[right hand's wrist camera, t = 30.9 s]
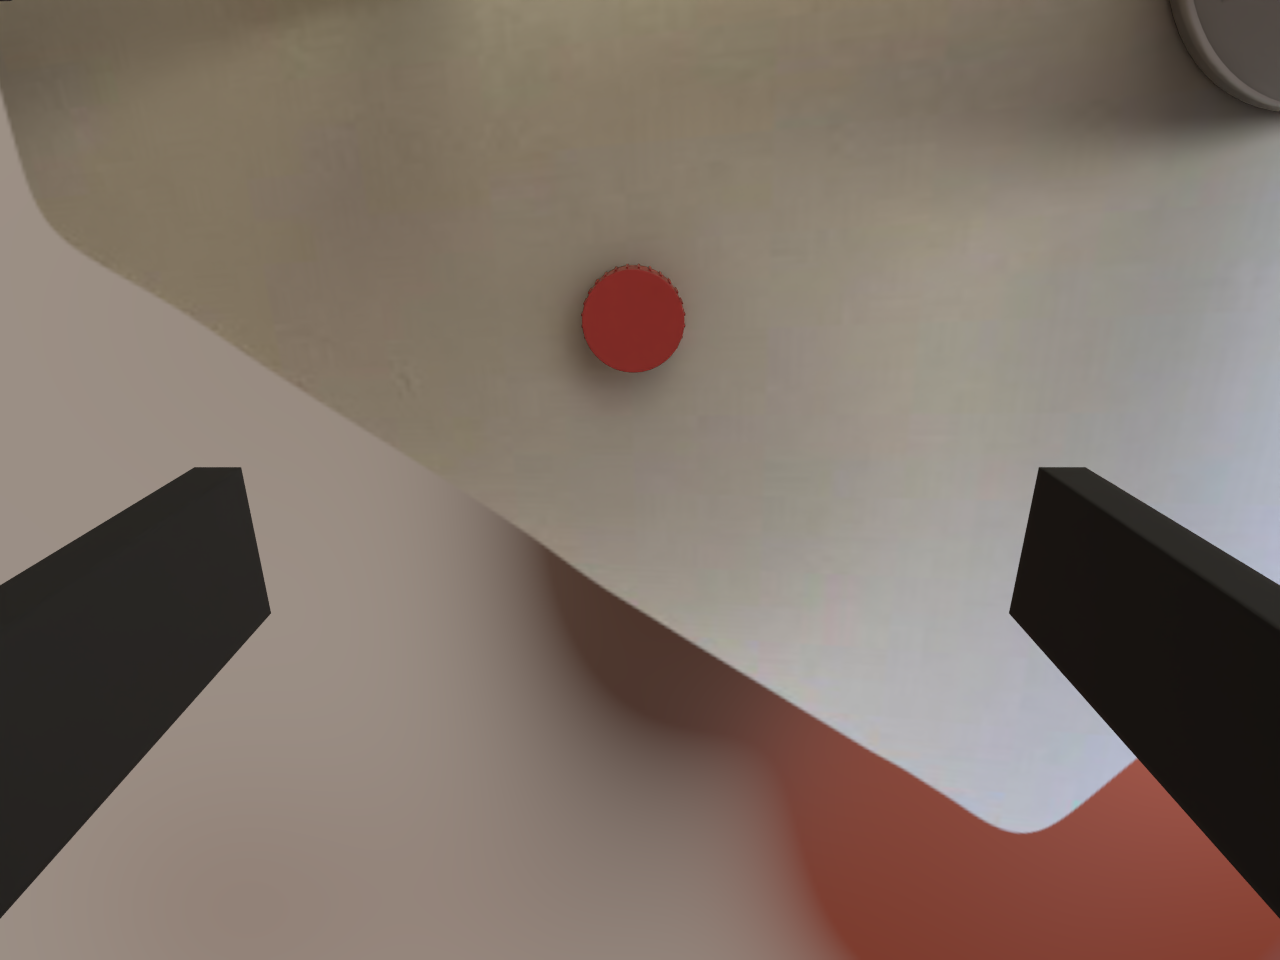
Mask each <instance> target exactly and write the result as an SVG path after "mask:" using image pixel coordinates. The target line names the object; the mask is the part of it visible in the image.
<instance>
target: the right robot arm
mask: <svg viewBox="0 0 1280 960" xmlns="http://www.w3.org/2000/svg"><path fill="white" fill-rule="evenodd" d="M1170 5H1171V9H1172V13H1173V17H1174V20H1175V23H1176V26H1177V29H1178V32H1179V34H1180V36H1181V38H1182V41H1183V43H1184V45H1185V47H1186V49H1187V50H1188V52H1189V54H1190V55H1191V57H1192V58H1193V60H1194V62H1195V63H1196V64H1197V65H1198V67H1199V68H1200V69H1201V70H1202V71H1203V73H1204V74H1205V75H1206V76H1207V77H1208V78H1209V79H1210V80H1211V81H1212V82H1213V83H1215V84H1216V85H1217V86H1218V87H1220V88H1221V89H1222V90H1224V91H1225V92H1226V93H1228V94H1229V95H1231V96H1233V97H1235V98H1237V99H1239V100H1241V101H1242V102H1245V103H1248V104H1250V105H1253V106H1256V107H1259V108H1263V109H1267V110H1271V111H1278V112H1280V0H1170ZM270 614H271V611H270V606H269V601H268V597H267V592H266V587H265V582H264V577H263V572H262V567H261V562H260V558H259V553H258V548H257V543H256V538H255V533H254V528H253V523H252V518H251V514H250V509H249V504H248V499H247V494H246V489H245V485H244V479H243V475H242V470H241V468H240V467H195V468H193V469H191V470H189V471H188V472H186V473H185V474H183V475H181V476H180V477H178V478H176V479H175V480H173V481H171V482H170V483H168V484H166V485H165V486H163V487H161V488H160V489H158V490H157V491H155V492H153V493H152V494H150V495H148V496H147V497H145V498H143V499H142V500H140V501H138V502H137V503H135V504H133V505H132V506H130V507H129V508H127V509H125V510H124V511H122V512H120V513H119V514H117V515H115V516H114V517H112V518H110V519H109V520H107V521H105V522H104V523H102V524H101V525H99V526H97V527H96V528H94V529H92V530H91V531H89V532H87V533H86V534H84V535H82V536H81V537H79V538H78V539H76V540H74V541H73V542H71V543H69V544H68V545H66V546H64V547H63V548H61V549H59V550H58V551H56V552H54V553H53V554H51V555H49V556H48V557H46V558H45V559H43V560H41V561H40V562H38V563H36V564H35V565H33V566H31V567H30V568H28V569H26V570H25V571H23V572H21V573H20V574H18V575H17V576H15V577H13V578H12V579H10V580H8V581H7V582H5V583H3V584H2V585H0V918H1V917H2V916H3V915H4V914H5V913H6V911H7V910H8V909H9V908H10V907H11V906H12V905H13V904H14V902H15V901H16V900H17V899H18V898H19V897H20V896H21V894H22V893H23V892H24V891H25V890H26V889H27V888H28V887H29V885H30V884H31V883H32V882H33V881H34V880H35V879H36V878H37V876H38V875H39V874H40V873H41V872H42V871H43V870H44V869H45V867H46V866H47V865H48V864H49V863H50V862H51V861H52V859H53V858H54V857H55V856H56V855H57V854H58V853H59V852H60V851H61V849H62V848H63V847H64V846H65V845H66V844H67V843H68V842H69V840H70V839H71V838H72V837H73V836H74V835H75V834H76V832H77V831H78V830H79V829H80V828H81V827H82V826H83V825H84V823H85V822H86V821H87V820H88V819H89V818H90V817H91V816H92V814H93V813H94V812H95V811H96V810H97V809H98V808H99V807H100V805H101V804H102V803H103V802H104V801H105V800H106V799H107V798H108V796H109V795H110V794H111V793H112V792H113V791H114V790H115V788H116V787H117V786H118V785H119V784H120V783H121V782H122V781H123V779H124V778H125V777H126V776H127V775H128V774H129V773H130V771H131V770H132V769H133V768H134V767H135V766H136V765H137V764H138V763H139V761H140V760H141V759H142V758H143V757H144V756H145V755H146V754H147V752H148V751H149V750H150V749H151V748H152V747H153V746H154V745H155V743H156V742H157V741H158V740H159V739H160V738H161V737H162V735H163V734H164V733H165V732H166V731H167V730H168V729H169V728H170V726H171V725H172V724H173V723H174V722H175V721H176V720H177V719H178V717H179V716H180V715H181V714H182V713H183V712H184V711H185V710H186V708H187V707H188V706H189V705H190V704H191V703H192V702H193V701H194V699H195V698H196V697H197V696H198V695H199V694H200V693H201V692H202V690H203V689H204V688H205V687H206V686H207V685H208V684H209V682H210V681H211V680H212V679H213V678H214V677H215V676H216V675H217V673H218V672H219V671H220V670H221V669H222V668H223V667H224V666H225V664H226V663H227V662H228V661H229V660H230V659H231V658H232V657H233V655H234V654H235V653H236V652H237V651H238V650H239V649H240V648H241V646H242V645H243V644H244V643H245V642H246V641H247V640H248V638H249V637H250V636H251V635H252V634H253V633H254V632H255V631H256V629H257V628H258V627H259V626H260V625H261V624H262V623H263V622H264V620H265V619H266V618H267V617H268V616H269V615H270ZM1009 614H1010V615H1011V616H1012V617H1013V618H1014V619H1015V620H1016V622H1017V623H1018V624H1019V625H1020V626H1021V627H1022V628H1023V629H1024V631H1025V632H1026V633H1027V634H1028V635H1029V636H1030V637H1031V638H1032V640H1033V641H1034V642H1035V643H1036V644H1037V645H1038V646H1039V648H1040V649H1041V650H1042V651H1043V652H1044V653H1045V654H1046V655H1047V657H1048V658H1049V659H1050V660H1051V661H1052V662H1053V663H1054V664H1055V666H1056V667H1057V668H1058V669H1059V670H1060V671H1061V672H1062V673H1063V675H1064V676H1065V677H1066V678H1067V679H1068V680H1069V681H1070V682H1071V684H1072V685H1073V686H1074V687H1075V688H1076V689H1077V690H1078V692H1079V693H1080V694H1081V695H1082V696H1083V697H1084V698H1085V699H1086V701H1087V702H1088V703H1089V704H1090V705H1091V706H1092V707H1093V708H1094V710H1095V711H1096V712H1097V713H1098V714H1099V715H1100V716H1101V717H1102V719H1103V720H1104V721H1105V722H1106V723H1107V724H1108V725H1109V726H1110V728H1111V729H1112V730H1113V731H1114V732H1115V733H1116V734H1117V735H1118V737H1119V738H1120V739H1121V740H1122V741H1123V742H1124V743H1125V745H1126V746H1127V747H1128V748H1129V749H1130V750H1131V751H1132V752H1133V754H1134V755H1135V756H1136V757H1137V758H1138V759H1139V760H1140V761H1141V763H1142V764H1143V765H1144V766H1145V767H1146V768H1147V769H1148V770H1149V772H1150V773H1151V774H1152V775H1153V776H1154V777H1155V778H1156V779H1157V781H1158V782H1159V783H1160V784H1161V785H1162V786H1163V787H1164V788H1165V790H1166V791H1167V792H1168V793H1169V794H1170V795H1171V796H1172V798H1173V799H1174V800H1175V801H1176V802H1177V803H1178V804H1179V805H1180V807H1181V808H1182V809H1183V810H1184V811H1185V812H1186V813H1187V814H1188V816H1189V817H1190V818H1191V819H1192V820H1193V821H1194V822H1195V823H1196V825H1197V826H1198V827H1199V828H1200V829H1201V830H1202V831H1203V832H1204V834H1205V835H1206V836H1207V837H1208V838H1209V839H1210V840H1211V841H1212V843H1213V844H1214V845H1215V846H1216V847H1217V848H1218V849H1219V851H1220V852H1221V853H1222V854H1223V855H1224V856H1225V857H1226V858H1227V860H1228V861H1229V862H1230V863H1231V864H1232V865H1233V866H1234V867H1235V869H1236V870H1237V871H1238V872H1239V873H1240V874H1241V875H1242V876H1243V878H1244V879H1245V880H1246V881H1247V882H1248V883H1249V884H1250V885H1251V887H1252V888H1253V889H1254V890H1255V891H1256V892H1257V893H1258V895H1259V896H1260V897H1261V898H1262V899H1263V900H1264V901H1265V902H1266V904H1267V905H1268V906H1269V907H1270V908H1271V909H1272V910H1273V911H1274V912H1275V914H1276V915H1277V916H1278V917H1279V918H1280V585H1278V584H1277V583H1275V582H1273V581H1272V580H1270V579H1268V578H1267V577H1265V576H1263V575H1262V574H1260V573H1259V572H1257V571H1255V570H1254V569H1252V568H1250V567H1249V566H1247V565H1245V564H1244V563H1242V562H1240V561H1239V560H1237V559H1235V558H1234V557H1232V556H1231V555H1229V554H1227V553H1226V552H1224V551H1222V550H1221V549H1219V548H1217V547H1216V546H1214V545H1212V544H1211V543H1209V542H1207V541H1206V540H1204V539H1203V538H1201V537H1199V536H1198V535H1196V534H1194V533H1193V532H1191V531H1189V530H1188V529H1186V528H1184V527H1183V526H1181V525H1179V524H1178V523H1176V522H1175V521H1173V520H1171V519H1170V518H1168V517H1166V516H1165V515H1163V514H1161V513H1160V512H1158V511H1156V510H1155V509H1153V508H1151V507H1150V506H1148V505H1147V504H1145V503H1143V502H1142V501H1140V500H1138V499H1137V498H1135V497H1133V496H1132V495H1130V494H1128V493H1127V492H1125V491H1123V490H1122V489H1120V488H1119V487H1117V486H1115V485H1114V484H1112V483H1110V482H1109V481H1107V480H1105V479H1104V478H1102V477H1100V476H1099V475H1097V474H1095V473H1094V472H1092V471H1091V470H1089V469H1087V468H1086V467H1039V470H1038V475H1037V479H1036V484H1035V489H1034V494H1033V499H1032V504H1031V509H1030V514H1029V518H1028V523H1027V528H1026V533H1025V538H1024V543H1023V548H1022V553H1021V558H1020V562H1019V567H1018V572H1017V577H1016V582H1015V587H1014V592H1013V597H1012V601H1011V606H1010V611H1009Z"/></svg>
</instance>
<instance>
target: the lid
mask: <svg viewBox="0 0 1280 960" xmlns="http://www.w3.org/2000/svg"><path fill="white" fill-rule="evenodd" d="M677 293H678V291H677V288H676V287H675V288H674V287H673V285H672V284H671V281H670V279H669V278H668V279H667V278H666V277H664V276H663V275H662V273H661V272H660V271H659V272H657V271H655V270H653V269H651V267H650V266H649V268H648V267H644V266H640V264H638V265H629V264H626V266H623V267H619V268H618V267H615V269H614V270H612V271H610V272H605V274H604V276H603V277H601V278H600V279H597V280H596V282H595V285H594V287H593V288H590V290H589V292H588V294H589V296H588V298H586V299H585V301H584V303H583V305H584V309H583V312H582V314H581V316H582V328H583V332H584V336H585V337H584V338H585V339H586V341H587V344H588V345H589V347H590V349H591V350H592V352H593V353H594V354H595V355H596V356H597V357H598V358H599V359H600V360H601V361H602V362H603V363H605V364H606V365H608V366H610V367H612V368H614V369H616V370H620V371H624V372H643V371H647V370H650V369H653V368H655V367H657V366H659V365H661V364H662V363H663V362H665V361H666V360H667V359H668V358H669V357H670V356H671V355H672V354H673V353H674V351H675V350H676V349H677V348H678V345H679V343H680V340H681V338H682V337H683V336H682V335H683V330H684V327H685V323H684V316H685V312H684V309H683V307H682V304H683V302H682V299H681V297H680V298H679V296H678V294H677Z"/></svg>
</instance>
